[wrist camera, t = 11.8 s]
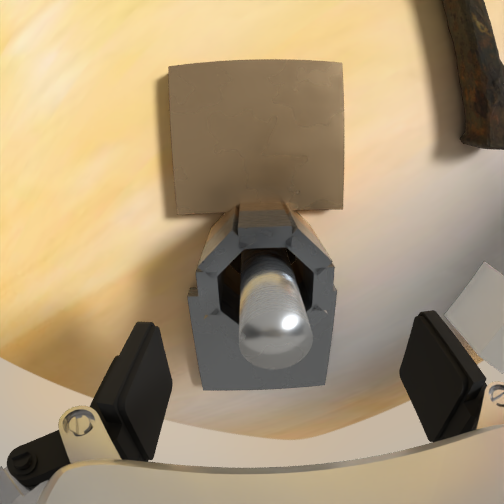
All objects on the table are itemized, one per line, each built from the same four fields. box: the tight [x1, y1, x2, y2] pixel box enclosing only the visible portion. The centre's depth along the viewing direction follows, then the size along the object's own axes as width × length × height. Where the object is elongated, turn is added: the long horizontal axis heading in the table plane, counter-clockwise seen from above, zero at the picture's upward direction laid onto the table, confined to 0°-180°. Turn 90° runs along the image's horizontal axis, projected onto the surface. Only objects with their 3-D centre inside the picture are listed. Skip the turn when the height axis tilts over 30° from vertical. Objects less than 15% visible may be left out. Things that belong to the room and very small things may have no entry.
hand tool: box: [443, 0, 504, 150], centre depth 13 cm, size 19×4×5 cm, turn 7°
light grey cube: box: [444, 261, 504, 374], centre depth 21 cm, size 6×6×6 cm
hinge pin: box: [239, 247, 313, 369], centre depth 16 cm, size 3×3×10 cm
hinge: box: [168, 60, 344, 390], centre depth 18 cm, size 10×24×6 cm, turn 2°
